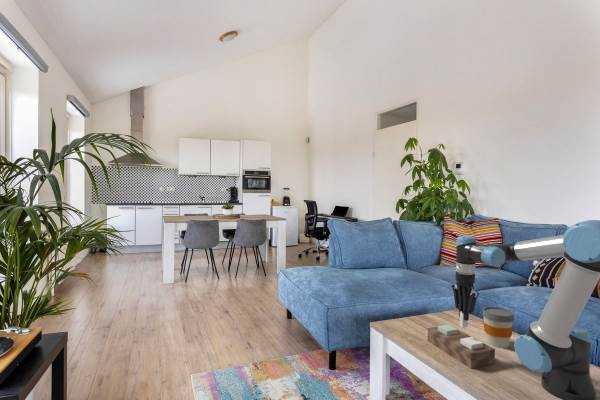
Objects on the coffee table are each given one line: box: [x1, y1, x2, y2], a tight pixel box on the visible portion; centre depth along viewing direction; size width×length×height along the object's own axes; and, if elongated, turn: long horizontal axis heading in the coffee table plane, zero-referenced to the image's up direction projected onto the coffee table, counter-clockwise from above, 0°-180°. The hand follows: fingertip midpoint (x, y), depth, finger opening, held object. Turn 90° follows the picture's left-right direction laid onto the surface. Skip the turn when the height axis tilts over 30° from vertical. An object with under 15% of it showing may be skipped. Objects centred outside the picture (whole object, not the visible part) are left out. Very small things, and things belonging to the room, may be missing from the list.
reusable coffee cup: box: [482, 306, 515, 349], centre depth 156 cm, size 13×13×15 cm
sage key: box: [437, 324, 459, 335], centre depth 155 cm, size 6×6×5 cm
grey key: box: [460, 336, 484, 350], centre depth 141 cm, size 6×6×5 cm
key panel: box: [427, 326, 496, 370], centre depth 148 cm, size 26×12×6 cm, turn 18°
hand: (463, 326), depth 145 cm, fingers closed
